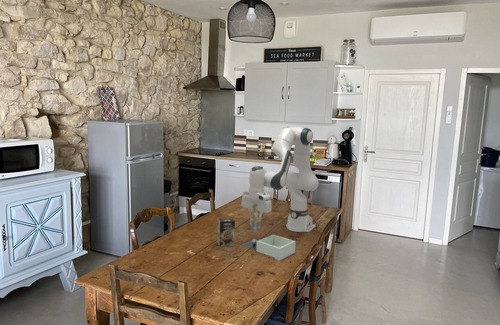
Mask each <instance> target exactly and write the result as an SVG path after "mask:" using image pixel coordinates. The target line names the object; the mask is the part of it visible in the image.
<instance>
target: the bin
mask: <svg viewBox="0 0 500 325" xmlns="http://www.w3.org/2000/svg"><path fill="white" fill-rule="evenodd" d="M255 251H256V252H257V253H260V254H263V255H266V256H268V257H272V259H273V260H275V261H282V260H284V259H286V258H288V257H290V256H291V255H293V254H296V240H293V239H290V238H286V237H283V236H279V235H276V234H271V235H268V236H266V237H264V238H261V239H259V240H257V246H256V250H255Z"/></svg>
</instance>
